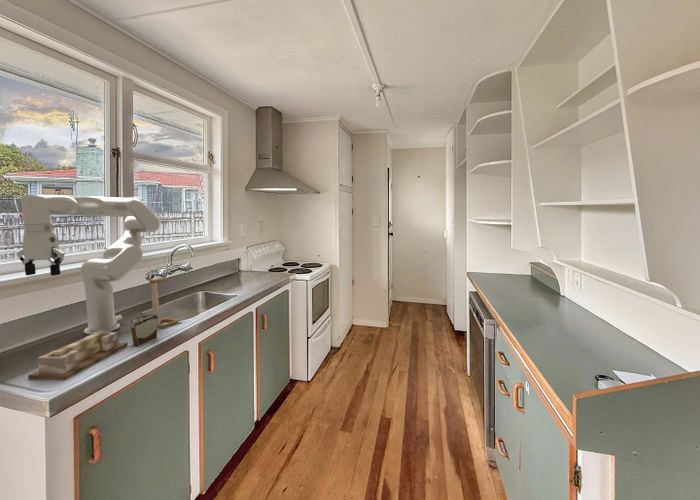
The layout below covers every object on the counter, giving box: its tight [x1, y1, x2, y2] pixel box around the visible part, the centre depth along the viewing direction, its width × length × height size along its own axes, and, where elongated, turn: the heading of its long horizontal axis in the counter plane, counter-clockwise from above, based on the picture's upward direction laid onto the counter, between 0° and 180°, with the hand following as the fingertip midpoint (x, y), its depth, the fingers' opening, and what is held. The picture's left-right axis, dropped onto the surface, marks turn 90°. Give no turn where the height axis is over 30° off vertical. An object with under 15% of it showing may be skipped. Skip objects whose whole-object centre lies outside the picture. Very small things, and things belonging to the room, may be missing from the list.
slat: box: [53, 332, 106, 361], centre depth 113 cm, size 18×2×6 cm, turn 178°
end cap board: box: [27, 331, 128, 381], centre depth 113 cm, size 26×12×6 cm, turn 177°
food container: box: [127, 313, 159, 348], centre depth 130 cm, size 12×6×10 cm, turn 168°
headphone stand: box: [148, 276, 182, 330], centre depth 150 cm, size 10×11×22 cm
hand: (43, 274), depth 121 cm, fingers open, 9 cm apart
